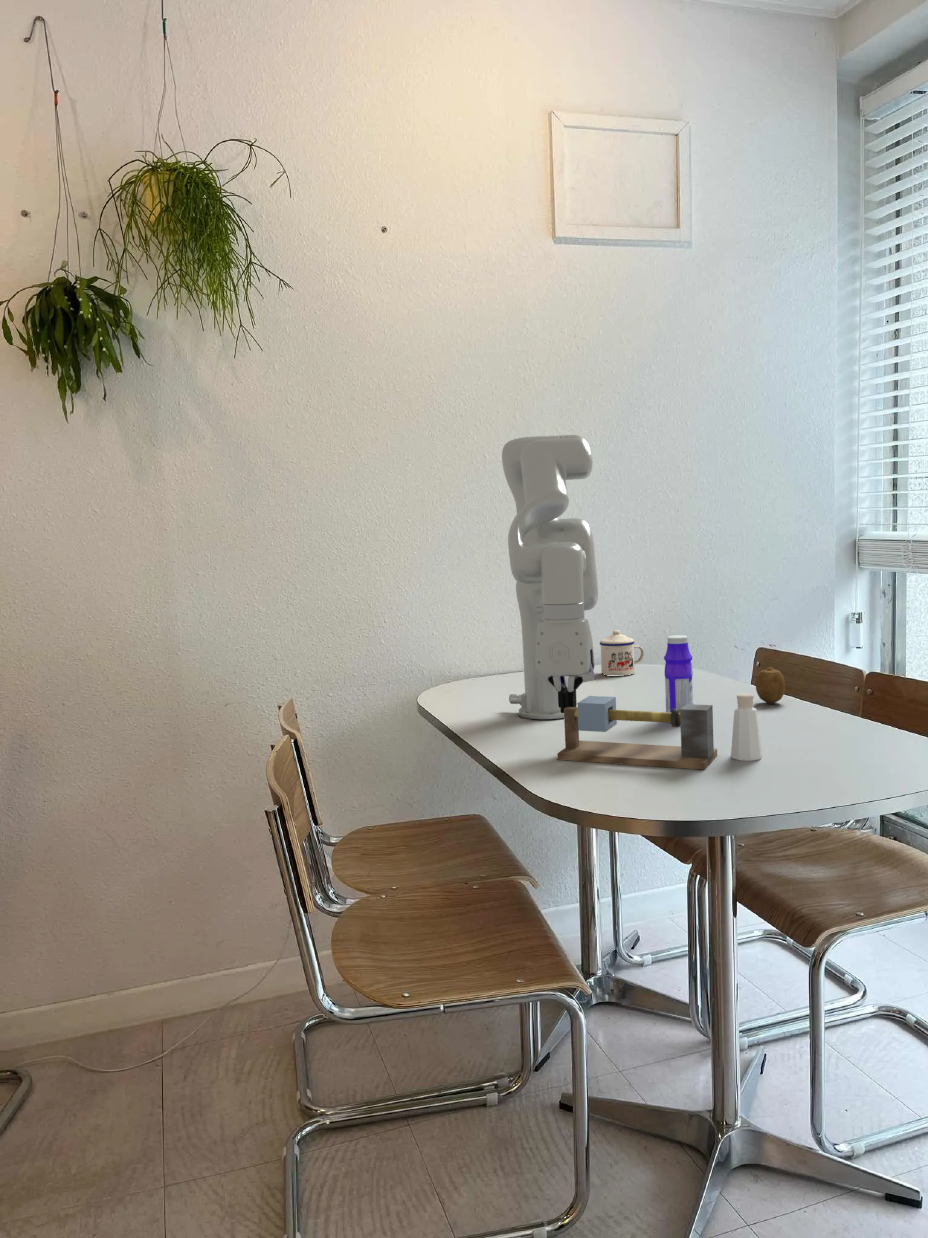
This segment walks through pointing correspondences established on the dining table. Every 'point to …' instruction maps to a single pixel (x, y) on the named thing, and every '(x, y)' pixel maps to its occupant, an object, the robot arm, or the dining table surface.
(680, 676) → the bottle
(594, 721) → the sleeve
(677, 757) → the rod stand
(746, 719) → the pepper shaker
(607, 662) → the teacup with lid
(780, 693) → the fruit
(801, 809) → the dining table surface
